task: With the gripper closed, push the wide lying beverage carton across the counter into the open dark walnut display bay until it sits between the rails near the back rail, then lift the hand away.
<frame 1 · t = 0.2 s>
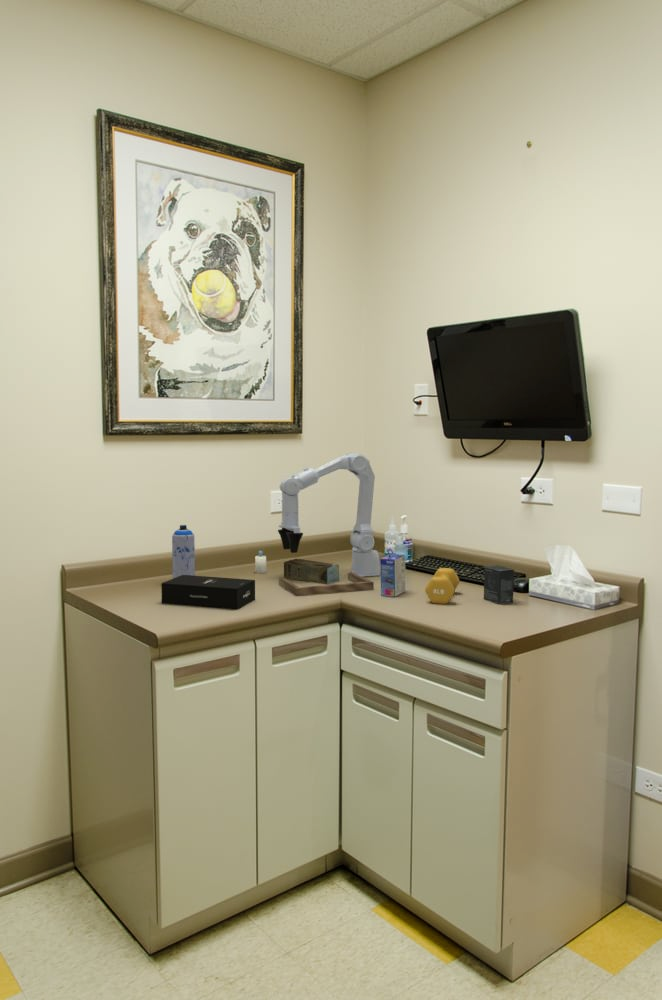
hand: (290, 550, 267), 10 cm above the countertop, tool pointing down, fingers open, 7 cm apart
aerosol can: (183, 583, 260), on the countertop
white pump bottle: (260, 572, 280), on the countertop
dumbbell: (442, 598, 241), on the countertop
display bay: (325, 587, 255), on the countertop
box 2: (209, 603, 234), on the countertop
ink cartridge box: (392, 594, 247), on the countertop
box: (498, 601, 237), on the countertop
beverage carton: (311, 580, 268), on the countertop
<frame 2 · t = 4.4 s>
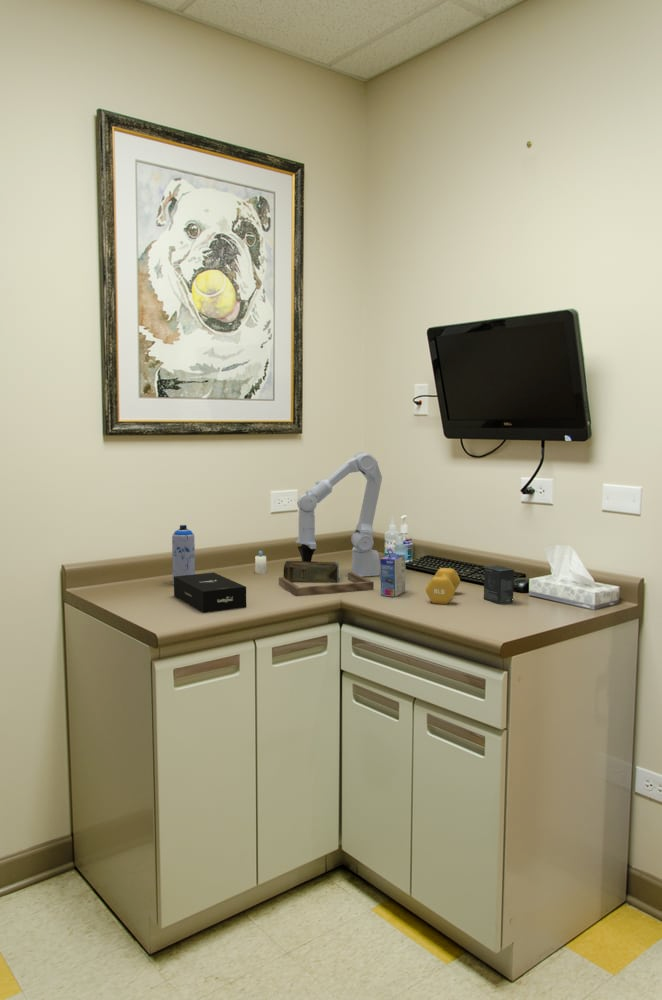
hand: (306, 566, 272), 4 cm above the countertop, tool pointing down, fingers closed
beverage carton: (311, 581, 267), on the countertop, touching gripper
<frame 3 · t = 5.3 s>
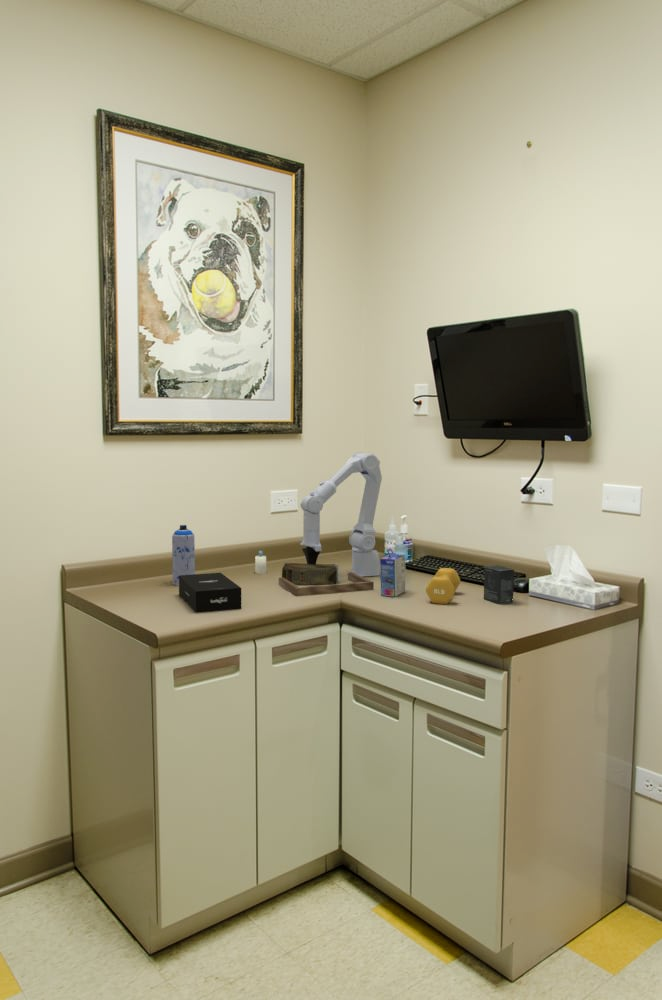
hand: (311, 568, 267), 4 cm above the countertop, tool pointing down, fingers closed
beverage carton: (310, 583, 262), on the countertop, touching display bay, gripper
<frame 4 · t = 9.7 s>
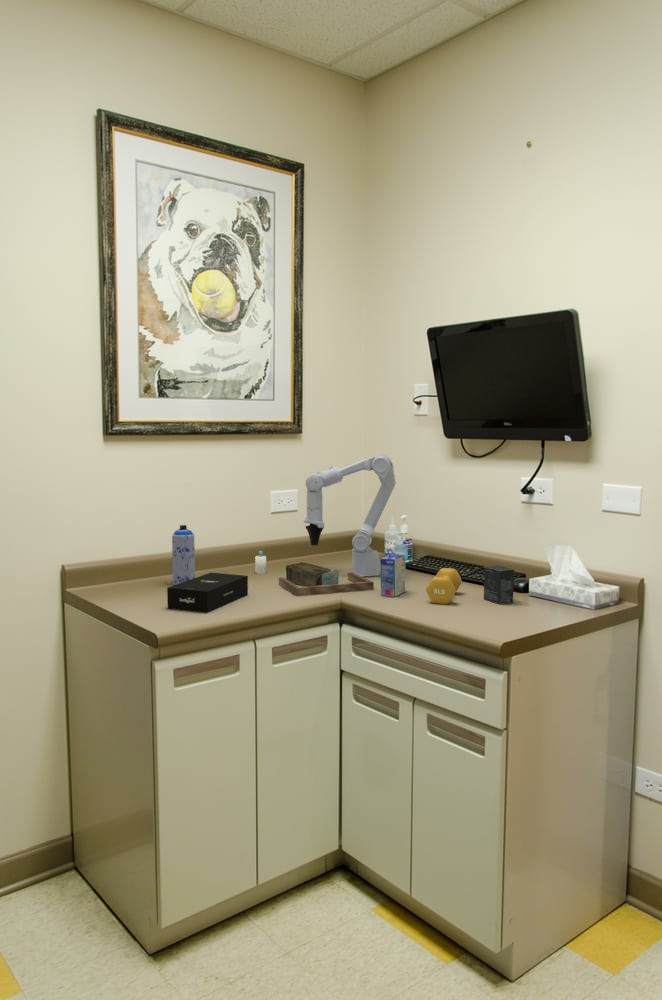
hand: (314, 545, 278), 10 cm above the countertop, tool pointing down, fingers closed
beverage carton: (311, 585, 260), on the countertop
at the end: beverage carton inside the target area (5.5 cm from its centre), on the countertop; beverage carton moved 8.5 cm from its start; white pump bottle touching countertop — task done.
